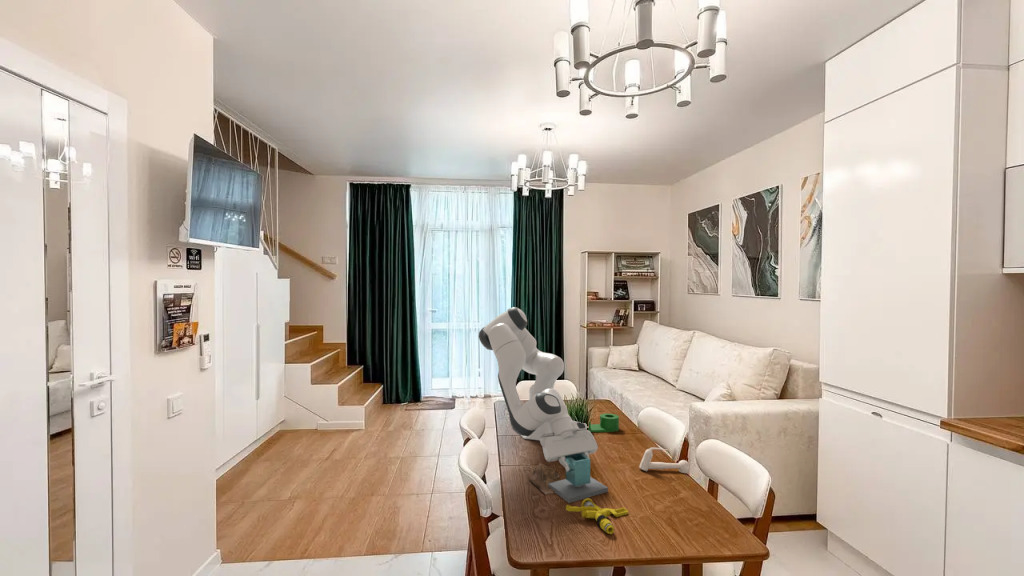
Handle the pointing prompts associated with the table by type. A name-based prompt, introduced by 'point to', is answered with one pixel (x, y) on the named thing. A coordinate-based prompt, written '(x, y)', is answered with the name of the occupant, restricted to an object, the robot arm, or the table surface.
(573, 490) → the post
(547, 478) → the wooden fragment
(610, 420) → the green bracket
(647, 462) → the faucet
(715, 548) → the table surface
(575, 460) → the teal square cup
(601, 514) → the sprinkler
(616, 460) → the table surface
